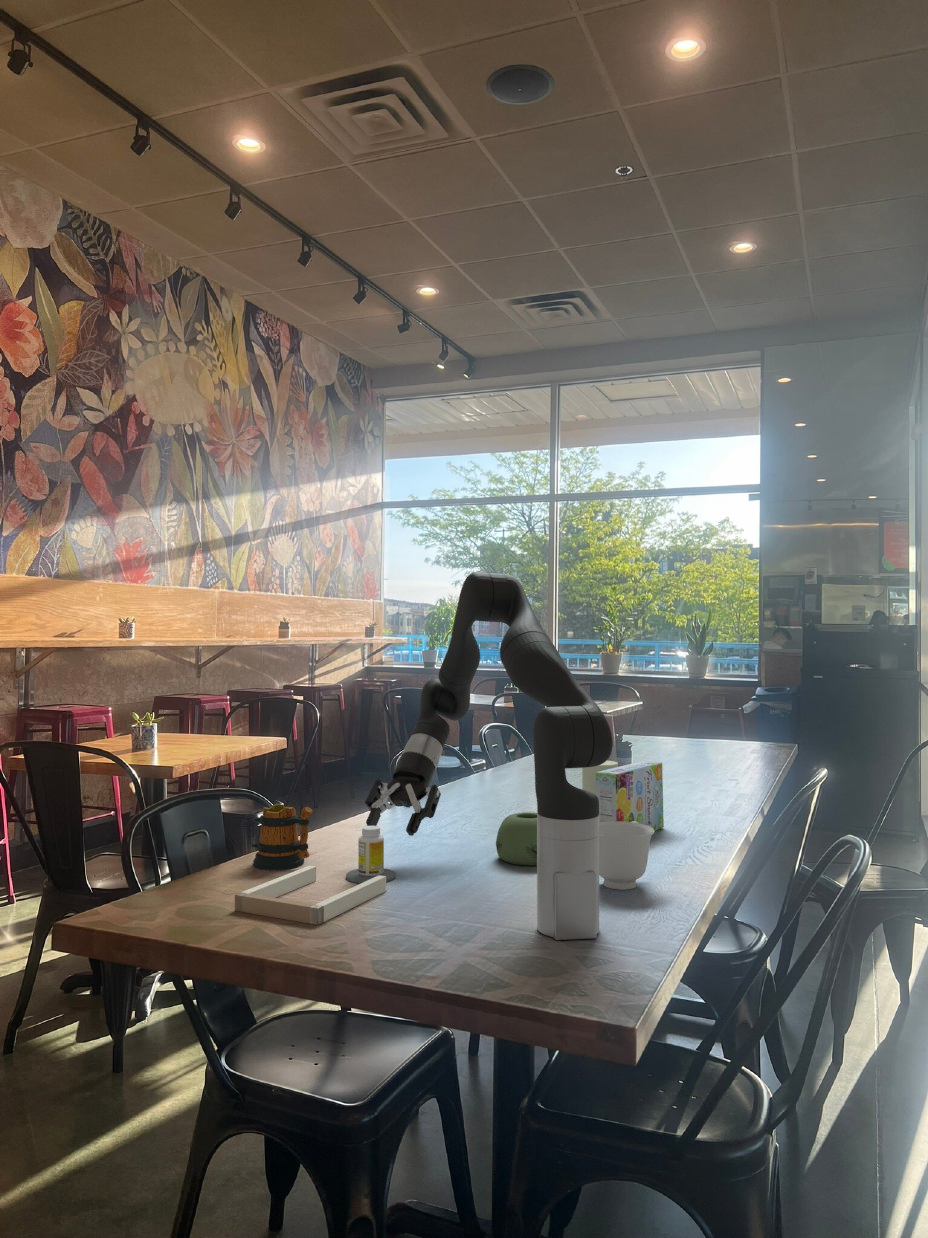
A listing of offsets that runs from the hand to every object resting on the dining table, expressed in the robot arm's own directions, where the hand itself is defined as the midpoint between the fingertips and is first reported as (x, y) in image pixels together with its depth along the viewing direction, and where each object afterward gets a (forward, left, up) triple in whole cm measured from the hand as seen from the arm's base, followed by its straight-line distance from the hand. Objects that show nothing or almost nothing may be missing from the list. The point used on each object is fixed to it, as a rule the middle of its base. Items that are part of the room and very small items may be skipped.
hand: (389, 831), depth 169 cm
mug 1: (+5, +20, -7) cm, 21 cm away
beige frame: (-19, +14, -7) cm, 24 cm away
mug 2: (+4, -28, -7) cm, 29 cm away
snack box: (+21, -54, -7) cm, 59 cm away
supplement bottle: (-6, +4, -7) cm, 10 cm away
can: (+51, -56, -7) cm, 76 cm away
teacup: (-16, -40, -7) cm, 44 cm away
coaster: (-6, +4, -7) cm, 10 cm away
